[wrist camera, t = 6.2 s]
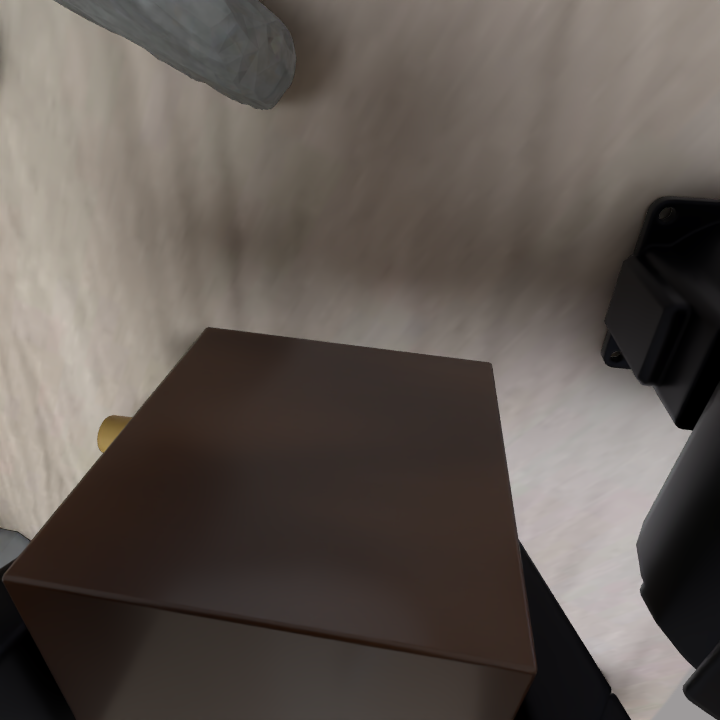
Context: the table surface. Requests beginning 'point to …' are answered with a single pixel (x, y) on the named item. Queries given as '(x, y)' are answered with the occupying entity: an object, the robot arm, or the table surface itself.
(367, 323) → the table surface
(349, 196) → the table surface
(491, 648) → the block
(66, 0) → the stone
